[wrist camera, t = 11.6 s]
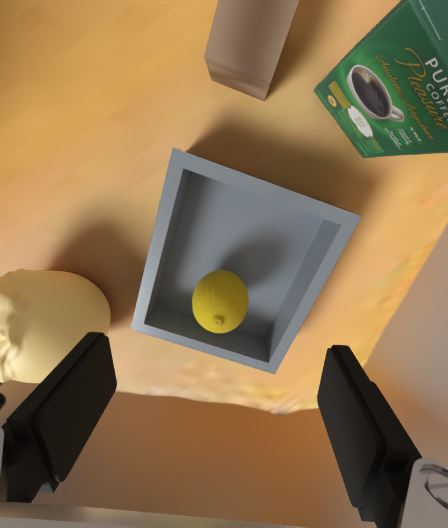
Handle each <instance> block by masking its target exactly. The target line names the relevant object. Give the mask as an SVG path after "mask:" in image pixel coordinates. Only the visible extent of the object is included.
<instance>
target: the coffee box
mask: <svg viewBox="0 0 448 528" xmlns="http://www.w3.org/2000/svg"><path fill="white" fill-rule="evenodd" d="M314 92H315V93H316V94H317V95H318V97H319V98H320V100H321V101H322V103H323V104H324V106H325V107H326V108H327V110H328V111H329V112H330V113H331V114H332V116H333V117H334V118H335V120H336V121H337V123H338V124H339V125H340V127H341V128H342V130H343V131H344V132H345V134H346V135H347V136H348V138H349V139H350V141H351V142H352V143H353V145H354V146H355V147H356V149H357V150H358V151H359V153H360V154H361V156H362V157H363V158H372V157H382V156H398V155H416V154H430V153H447V152H448V0H402V1H400V2H399V3H398V4H397V5H396V6H395V7H394V8H393V9H392V10H391V11H390V12H389V13H388V14H387V15H386V16H385V17H384V18H383V19H382V20H381V21H380V22H379V23H378V24H377V25H376V26H375V27H374V28H373V29H372V30H371V31H370V32H369V33H368V34H367V35H366V36H365V37H364V38H362V40H361V41H359V42H358V43H357V44H356V45H355V47H354V48H353V49H352V50H351V51H350V52H349V53H348V54H347V55H346V56H345V57H344V58H343V59H342V60H341V61H340V62H339V63H338V65H337V66H336V67H335V68H334V69H333V70H332V71H331V72H330V73H329V74H328V75H327V76H326V77H325V78H324V79H323V81H321V83H319V84H318V85H317V87H316V88H315V89H314Z"/></svg>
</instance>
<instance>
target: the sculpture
mask: <svg viewBox="0 0 448 528" xmlns="http://www.w3.org/2000/svg"><path fill="white" fill-rule="evenodd" d="M110 320H111V313H110V307H109V303H108V301H107V299H106V297H105V295H104V294H103V293H102V291H101V290H100V289H99V288H98V287H97V286H96V285H94V284H93V283H92V282H90V281H89V280H87V279H86V278H84V277H82V276H80V275H77V274H74V273H70V272H65V271H31V270H25V269H19V270H16V271H15V272H8V273H6V274H5V275H4V276H2V277H0V383H3V382H6V381H8V380H9V379H13V380H17V381H21V382H28V383H41V382H42V381H43V380H44V379H45V378H46V377H47V376H48V374H49V373H50V372H51V371H52V370H53V369H54V368H55V367H56V366H57V365H58V364H59V363H60V362H61V361H62V359H63V358H64V357H65V356H66V355H67V354H68V353H69V352H70V351H71V350H72V349H73V348H74V347H75V346H76V344H77V343H78V342H79V341H80V340H81V339H82V338H83V337H84V336H85V335H86V334H87V333H88V332H103V333H104V334H105V336H107V334H108V331H109V327H110Z"/></svg>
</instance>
